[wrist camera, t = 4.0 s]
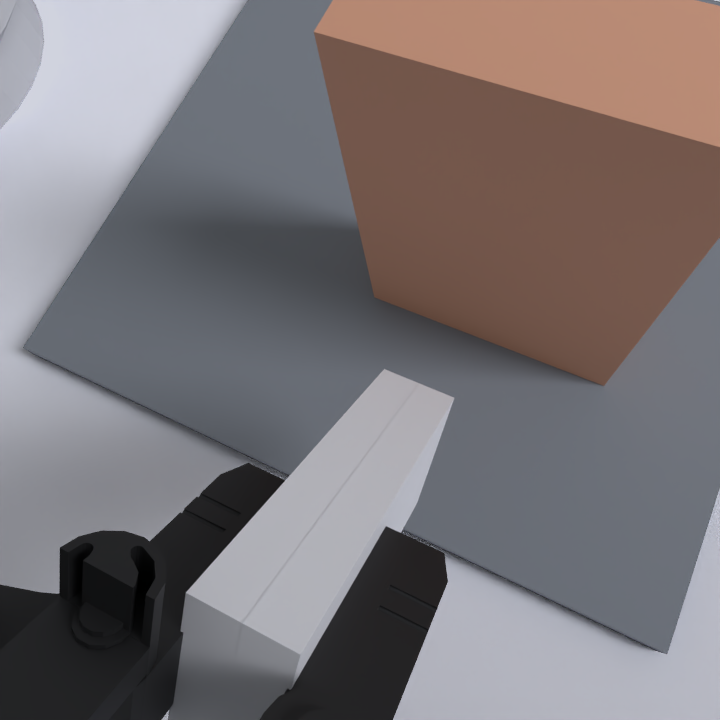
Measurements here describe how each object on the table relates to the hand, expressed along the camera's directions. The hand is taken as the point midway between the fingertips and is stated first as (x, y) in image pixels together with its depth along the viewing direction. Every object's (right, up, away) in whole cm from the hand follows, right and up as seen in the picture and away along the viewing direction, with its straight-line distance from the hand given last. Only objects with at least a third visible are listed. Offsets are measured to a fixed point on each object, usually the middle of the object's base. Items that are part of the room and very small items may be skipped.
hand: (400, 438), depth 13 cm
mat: (+2, +7, +8) cm, 11 cm away
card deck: (+3, +3, +6) cm, 7 cm away
